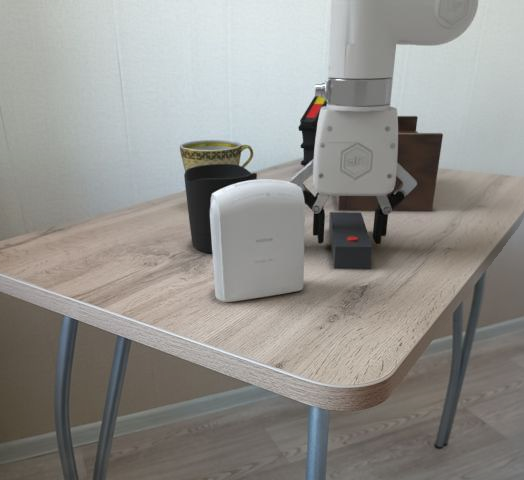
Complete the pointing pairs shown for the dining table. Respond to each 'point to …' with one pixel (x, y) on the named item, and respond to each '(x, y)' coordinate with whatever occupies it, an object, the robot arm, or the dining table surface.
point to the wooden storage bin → (414, 162)
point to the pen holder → (208, 197)
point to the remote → (349, 241)
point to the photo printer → (257, 239)
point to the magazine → (310, 128)
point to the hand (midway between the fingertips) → (348, 239)
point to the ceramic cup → (212, 153)
